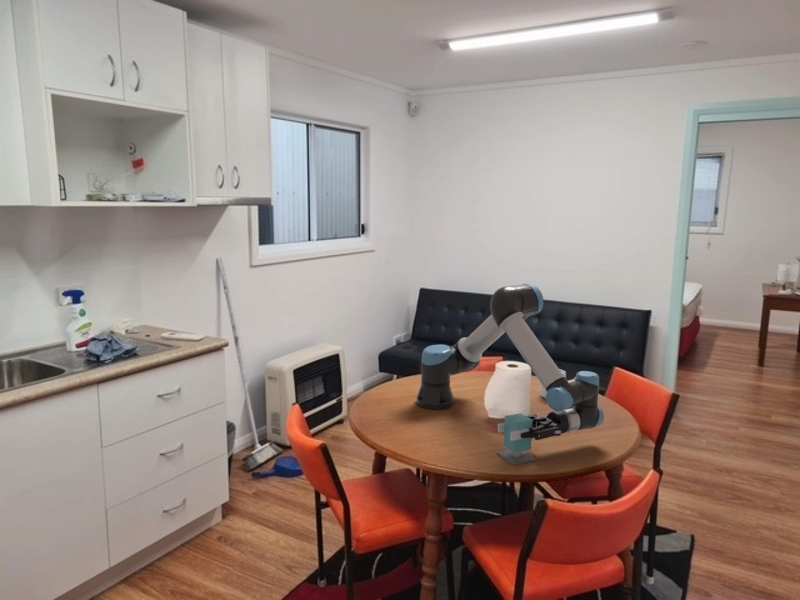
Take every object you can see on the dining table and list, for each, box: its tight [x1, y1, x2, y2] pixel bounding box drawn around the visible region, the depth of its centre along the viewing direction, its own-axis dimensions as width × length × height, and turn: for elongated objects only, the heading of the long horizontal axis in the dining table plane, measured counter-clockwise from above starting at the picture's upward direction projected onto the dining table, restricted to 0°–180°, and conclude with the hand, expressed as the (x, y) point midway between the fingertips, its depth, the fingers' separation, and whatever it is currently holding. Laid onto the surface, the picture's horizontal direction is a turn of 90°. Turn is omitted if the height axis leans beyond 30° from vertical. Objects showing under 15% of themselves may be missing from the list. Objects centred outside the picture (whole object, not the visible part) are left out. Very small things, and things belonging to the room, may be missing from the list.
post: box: [496, 449, 537, 466], centre depth 183 cm, size 9×9×8 cm
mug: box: [539, 368, 567, 399], centre depth 244 cm, size 14×10×11 cm
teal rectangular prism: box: [503, 413, 533, 453], centre depth 182 cm, size 6×6×10 cm
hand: (504, 432), depth 180 cm, fingers closed on teal rectangular prism, 6 cm apart
